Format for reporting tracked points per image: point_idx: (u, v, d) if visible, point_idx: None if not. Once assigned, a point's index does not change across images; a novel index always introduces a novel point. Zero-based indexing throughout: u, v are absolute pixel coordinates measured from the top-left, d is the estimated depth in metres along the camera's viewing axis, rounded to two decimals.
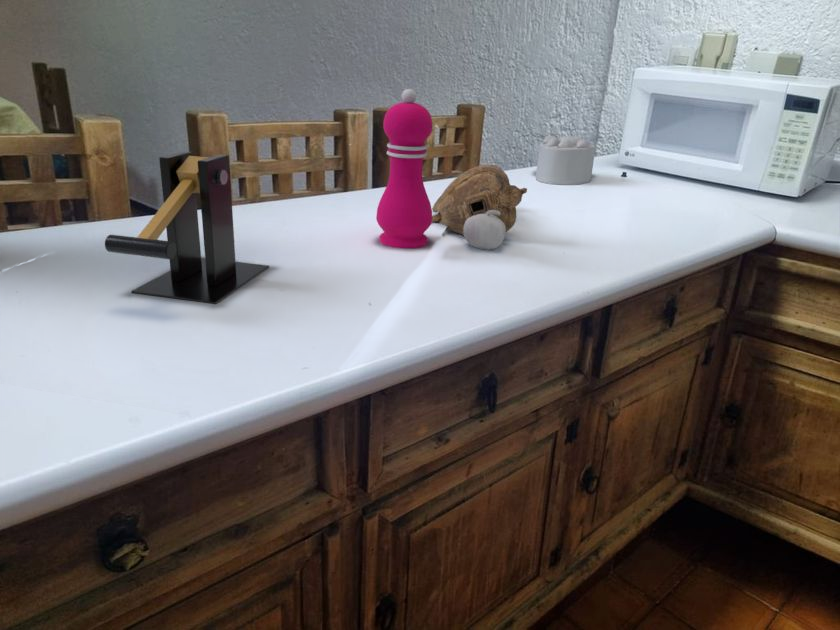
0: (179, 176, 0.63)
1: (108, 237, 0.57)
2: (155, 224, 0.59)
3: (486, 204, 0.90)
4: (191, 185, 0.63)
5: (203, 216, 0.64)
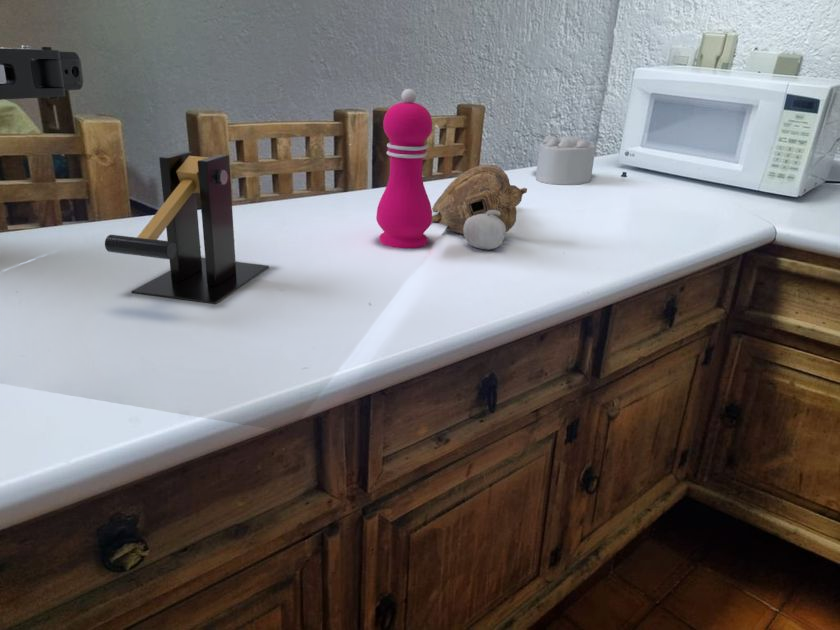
0: (179, 176, 0.63)
1: (108, 237, 0.57)
2: (155, 224, 0.59)
3: (486, 204, 0.90)
4: (191, 185, 0.63)
5: (203, 216, 0.64)
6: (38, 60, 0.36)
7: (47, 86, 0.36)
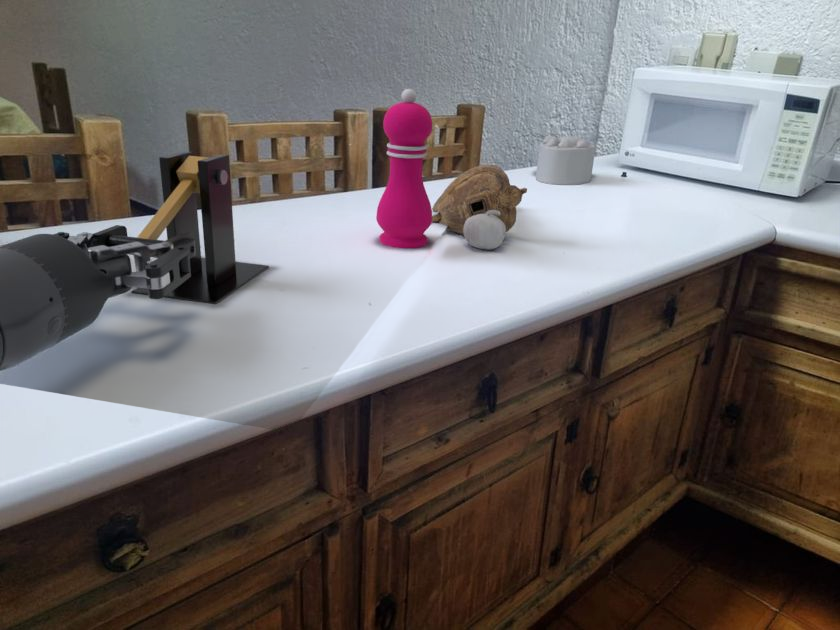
0: (179, 176, 0.63)
1: (108, 237, 0.57)
2: (155, 224, 0.59)
3: (486, 204, 0.90)
4: (191, 185, 0.63)
5: (203, 216, 0.64)
6: None
7: (181, 272, 0.54)
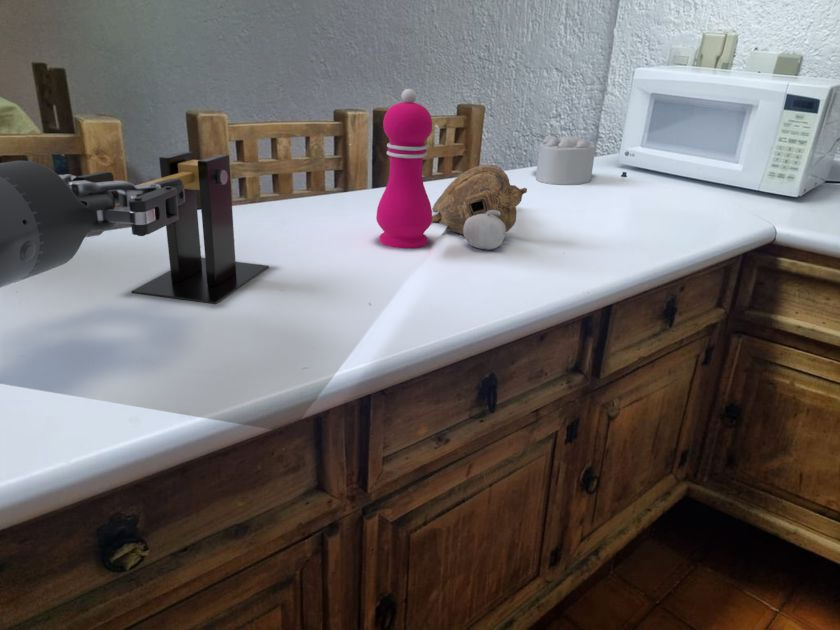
0: (179, 169, 0.63)
1: None
2: None
3: (486, 204, 0.90)
4: (190, 176, 0.63)
5: (203, 216, 0.64)
6: None
7: (168, 214, 0.51)
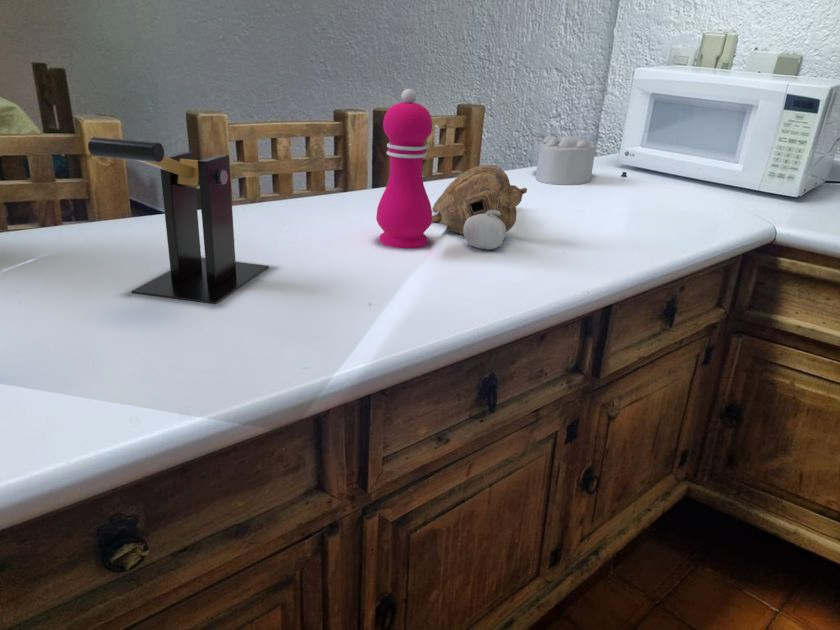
0: None
1: (96, 137, 0.54)
2: None
3: (486, 204, 0.90)
4: (190, 169, 0.63)
5: (203, 216, 0.64)
6: None
7: None
